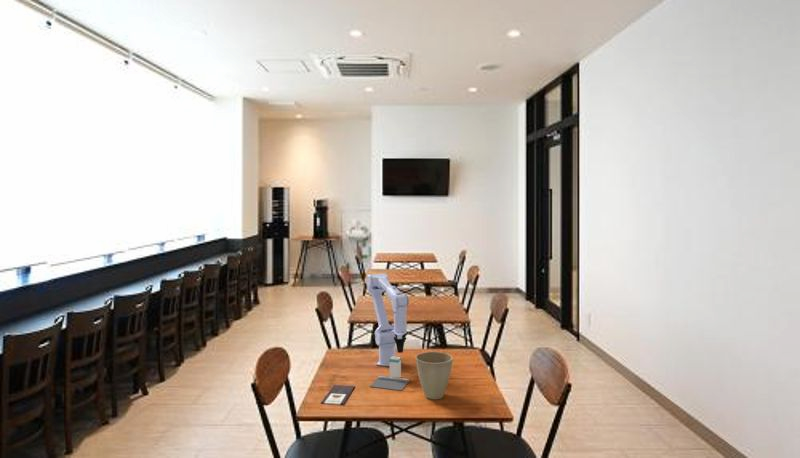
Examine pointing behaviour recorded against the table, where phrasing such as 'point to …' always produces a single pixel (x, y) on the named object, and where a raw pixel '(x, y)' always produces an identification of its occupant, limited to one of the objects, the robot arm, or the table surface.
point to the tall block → (395, 367)
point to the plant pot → (434, 373)
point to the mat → (389, 384)
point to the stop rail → (393, 378)
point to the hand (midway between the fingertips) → (400, 350)
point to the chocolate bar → (338, 395)
